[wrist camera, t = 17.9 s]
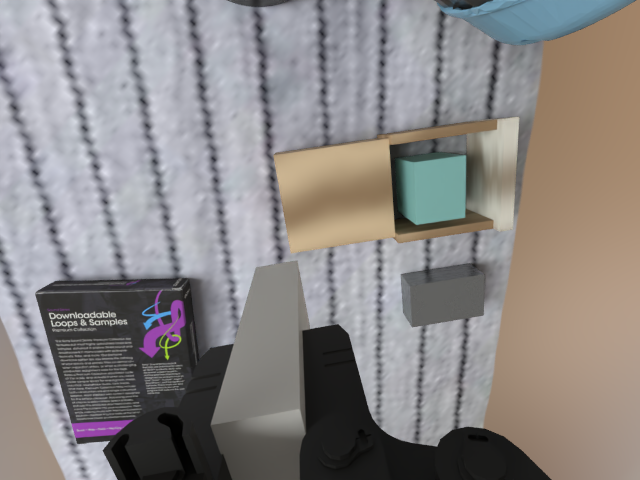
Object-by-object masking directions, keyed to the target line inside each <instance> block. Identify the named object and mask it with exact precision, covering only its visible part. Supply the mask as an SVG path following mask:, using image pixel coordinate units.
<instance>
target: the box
mask: <svg viewBox="0 0 640 480" xmlns="http://www.w3.org/2000/svg"><path fill="white" fill-rule="evenodd" d="M35 295H36V299H37V302H38V306H39V309H40V313H41V317H42V320H43V324H44V327H45V331H46V335H47V338H48V342H49V345H50V349H51V353H52V356H53V359H54V363H55V367H56V370H57V374H58V377H59V381H60V384H61V388H62V392H63V396H64V399H65V403H66V406H67V409H68V413H69V416H70V420H71V423H72V427H73V430H74V434H75V437H76V441H77V444H86V443H89V442H103V441H111V439H112V438H113V437H114V436H115V435H116V434H117V433H118V432H119V431H120V430H121V429H123V428H124V427H125V426H126V425H127V424H129V423H130V422H131V421H133V420H135V419H136V418H138V417H140V416H142V415H143V414H145V413H147V412H150V411H153V410H156V409H159V408H162V407H179V405H180V402H181V400H182V398H183V395H185V391H186V388H187V386H188V384H189V381H191V377H192V374H193V372H194V370H195V367H196V365H197V362H198V361H199V354H198V346H197V338H196V330H195V322H194V315H193V307H192V299H191V291H190V284H189V278H180V279H141V280H99V281H55V282H53V283H51V284H49V285H47V286H45V287H44V288H42V289H40V290H38V291H37V292H36V293H35Z"/></svg>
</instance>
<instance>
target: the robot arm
mask: <svg viewBox="0 0 640 480" xmlns="http://www.w3.org/2000/svg"><path fill="white" fill-rule="evenodd" d="M228 1H231V2H233V3H237V4H241V5H246V6H270V5H275V4H279V3H282V2H285V1H288V0H228ZM435 1H436V2H437V4H438V6H439V7H440V8H441V10H442V11H443V12H444V13H445V14H447V15H449V16H453V17H457V18H462V19H464V20H465V21H467V22H469V23H470V24H472V25H473V26H475V27H476V28H478V29H479V30H481V31H482V32H484V33H486V34H487V35H489V36H490V37H492V38H493V39H495V40H497V41H500V42H502V43H506V44H511V45H525V44H531V43H536V42H538V41H541V40H545V41H546V40H547V41H549V40H553V39H557V38H560V37H563V36H565V35H568V34H570V33H573V32H576V31H578V30H581V29H583V28H585V27H587V26H589V25H592V24H594V23H596V22H598V21H599V20H602V19H604V18H606V17H607V16H609V15H611V14H613V13H615V12H617V11H619V10H621V9H622V8H624V7H626V6H628V5H629V4H631V3H632V2H634V1H636V0H435ZM103 452H104V454H105V456H106V458H107V460H108V462H109V464H110V466H111V468H112V470H113V471H114V473H115V475H116V477H117V479H118V480H551V479H550V478H549V477H548V476H547V475H546V474H545V473H544V472H543V471H542V470H541V469H540V468H539V467H538V466H537V465H536V464H535V463H534V462H533V461H532V460H531V459H530V458H529V457H528V456H527V455H526V454H525V453H524V452H523V451H522V450H521V449H519V448H518V447H517V446H515V445H514V444H513V443H512V442H510V441H509V440H508V439H506V438H505V437H504V436H501V435H499V434H496V433H494V432H492V431H489V430H487V429H482V428H474V427H464V428H460V429H455V430H452V431H450V432H449V433H448V434H446V435H445V436H444V437H443V438H441V439H440V442H439V444H438V446H437V447H436V446H429V445H422V444H415V443H409V442H405V441H401V440H398V439H396V438H394V437H392V436H390V435H388V434H387V433H386V432H384V431H383V430H382V429H381V428H379V427H378V425H377V424H376V423H375V421H374V420H373V419H372V416H371V414H370V412H369V409H368V405H367V401H366V397H365V394H364V390H363V386H362V383H361V379H360V375H359V371H358V368H357V364H356V361H355V356H354V353H353V349H352V345H351V341H350V338H349V334H348V333H347V332H346V331H345V330H344V329H343V328H342V327H341V326H339V325H338V324H337V325H331V326H325V327H320V328H314V329H310V325H309V319H308V314H307V309H306V304H305V298H304V293H303V288H302V283H301V278H300V272H299V267H298V262H297V261H291V262H285V263H280V264H274V265H268V266H262V267H256V269H255V273H254V276H253V280H252V283H251V287H250V290H249V294H248V297H247V301H246V304H245V307H244V311H243V314H242V318H241V321H240V325H239V328H238V332H237V335H236V339H235V342H234V344H231V345H225V346H219V347H214V348H210V349H209V350H208V351H207V353H206V354H205V355H204V356H203V357H202V358H201V359H200V360H199V361H198V362H197V365H196V367H195V370H194V372H193V374H192V377H191V381H189V384H188V386H187V388H186V391H185V395H183V398H182V400H181V402H180V405H179V407H162V408H159V409H156V410H153V411H150V412H147V413H145V414H143V415H142V416H140V417H138V418H136V419H135V420H133V421H131V422H130V423H129V424H127V425H126V426H125V427H124V428H123V429H121V430H120V431H119V432H118V433H117V434H116V435H115V436H114V437H113V438H112V439H111V441H110V442H109V443H108V445H107V446H106V447H105V448H104V450H103Z"/></svg>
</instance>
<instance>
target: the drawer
mask: <svg viewBox="0 0 640 480" xmlns="http://www.w3.org/2000/svg"><path fill="white" fill-rule="evenodd" d="M518 131H519V117H511V118H499V119H487V120H476V121H470V122H463V123H456V124H449V125H442V126H435V127H428V128H421V129H415V130H408V131H401V132H394V133H387V134H380V135H377V138H375V139H368V140H361V141H354V142H347V143H341V144H334V145H327V146H320V147H313V148H306V149H299V150H293V151H286V152H279V153H275V154H274V161H275V166H276V172H277V178H278V183H279V189H280V195H281V200H282V206H283V212H284V217H285V223H286V228H287V234H288V240H289V245H290V251H291V253H296V252H302V251H309V250H315V249H321V248H328V247H334V246H341V245H347V244H353V243H360V242H366V241H373V240H379V239H386V238H392V237H393V238H394V239H395V240H396V241H397V242H398V243H404V242H410V241H417V240H423V239H429V238H436V237H442V236H448V235H455V234H461V233H468V232H474V231H480V230H487V229H496V230H498V231H506V230H513V217H514V200H515V183H516V165H517V148H518ZM463 134H467V161H466V209H465V218H459V219H453V220H446V221H439V222H433V223H426V224H419V225H416V224H414V223H413V222H412V221H410V220H409V219H408V218H402V219H395V220H394V210H393V195H392V180H391V164H390V149H389V145H395V144H402V143H408V142H415V141H422V140H429V139H436V138H442V137H449V136H456V135H463Z"/></svg>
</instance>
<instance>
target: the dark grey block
mask: <svg viewBox="0 0 640 480" xmlns="http://www.w3.org/2000/svg"><path fill="white" fill-rule="evenodd" d="M484 283H485V274H484V273H482V272H481V271H480V270H478V269H477V268H476V267H474V266H473V265H471V264H470V263H469V264H463V265H457V266H450V267H444V268H438V269H432V270H425V271H419V272H413V273H407V274H401V285H402V301H403V313H404V315H405V316H406V318H407V320H408V321H409V323H410V325H411V326H412V327H417V326H423V325H429V324H435V323H441V322H447V321H453V320H459V319H465V318H471V317H477V316H483V315H484Z"/></svg>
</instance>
